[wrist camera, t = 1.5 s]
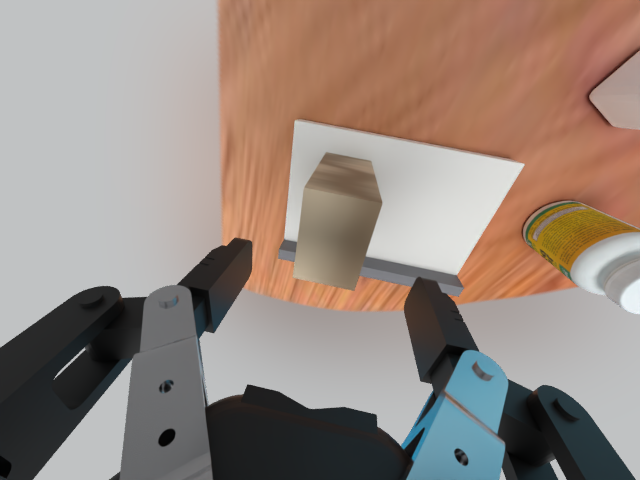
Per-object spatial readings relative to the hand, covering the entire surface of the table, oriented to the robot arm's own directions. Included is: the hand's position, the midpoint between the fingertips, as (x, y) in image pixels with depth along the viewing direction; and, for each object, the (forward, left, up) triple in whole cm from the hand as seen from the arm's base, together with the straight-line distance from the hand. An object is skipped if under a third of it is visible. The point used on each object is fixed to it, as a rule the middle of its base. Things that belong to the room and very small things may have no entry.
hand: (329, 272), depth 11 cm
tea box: (0, 0, -12) cm, 12 cm away
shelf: (+1, +4, -14) cm, 15 cm away
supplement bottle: (0, +21, -15) cm, 25 cm away
